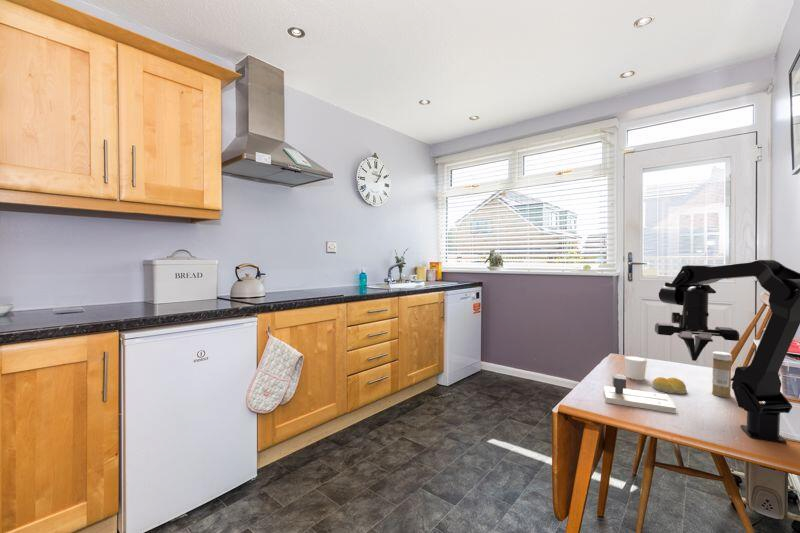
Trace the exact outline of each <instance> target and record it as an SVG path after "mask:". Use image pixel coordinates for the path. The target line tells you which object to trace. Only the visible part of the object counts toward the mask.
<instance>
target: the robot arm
mask: <svg viewBox="0 0 800 533" xmlns="http://www.w3.org/2000/svg"><path fill="white" fill-rule="evenodd" d="M754 277H755V278H756V279H757V281H758V283H759V285H760V286H761V288H763V289H764V290H766V292H767V293H769V295H768V300H767V301H768V304H769V307H770V310H771V315H770V317H769V319H768V322H767V324H766V327H765V330H764V332H763V334H762V336H761V338H760V341H759V344H758V346H757V348H756V351H755V353H754V355H753V358H752V360H751V362H750V364H748V366H737V367H736V368H735V370H734V375H733V376H732V377H731V389H732V390H733V393H734V397H735V399H736V404H737V406H738V407H739V408H741V409H743V411H746V425H745V424H740V428H741V429H742V430H743V431H744V432H745V433H746V434H747V435H748V436H749V437H750V438H753V439H760V440H764V441H770V442H771V441H772V442H777V443H783V444H787V442H788V441H787V440H786V439H785V438H784V436H782V435H781V434H780V431H781V430H780V427H781V426H780V424H781V414H782V413H785V414H790V412H791V410H792V409H793V405H792V404H791V402H789V400H788V399H787V398H786V397H785V395H784V394H783V393H782V392H781V389H782V381H781V378H780V376H779V372H780V370H781V367H782V365H783V363H784V361H785V358H786V356H787V353H788V351H789V349H790V347H791V345H792V342H793V340H794V339H795V337H796V336H795V335H796V334H797V332H798V330H799V327H800V272H798V271H796V270H793V269H791V268H788V267H787V266H785V265H784V264H782V263H781V262H779V261H777V260H775V259H756V260H753V261H748V262H747V261H745V262H736V263H728V264H720V265H719V264H718V265H715V264H714V265H712V264H711V265H710V264H685V265H683V266H681V269H680V271H679V272H678V273H677V275H676V276H675V278H674V279H673V281H668V282H667V281H665V283H664V286H662V287H661V288H660V290H659V292H658V298H659V300H660V301H661V302H662V303H664V304H669V305H677V306H682V312H673V311H672V312H671V323H667V322H656V323H655V325H654V333H656V334H657V335H659V336H660V335H661V336H672V335H674V334H677V337H678V338H679V339H681V340H683V341H684V343H685V345H686V347H687V350H688V353H689V355H690V356H689V357H690V358H691V360H692V361H695V362H696V361H697V360H698V358H699V356H700V355H701V353H702V352H703V349H704V348H705V347H706V346H707V345H708V344H709V343H713V342H714V339H712V337H721V338H723V339H724V340H725V341H734V342H736V341H737V342H740V333H739V331H738V330H737V329H734V328H732V327H725V326H716V327H715V328H714V329H712V328H709V327H708V320H709V316H710V314H709V294H716V293H717V291H716V290H715V289H714V288H712V287H711V286H710V284H713V283H717V282H719V281H722V280H725V279H727V280H728V279H729V280H730V279H741V278H742V279H743V278H754ZM673 324H676V325H677V324H678V326H674V325H673ZM693 335H694V337H692V336H693Z"/></svg>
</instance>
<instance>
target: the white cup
mask: <svg viewBox="0 0 800 533" xmlns="http://www.w3.org/2000/svg"><path fill="white" fill-rule="evenodd" d="M647 362H648V360H647V358H643V357H641V356H636V355H635V356H633V355H625V356H624V367H625V368H624V369H625V377H626V376H627V377H626V378H628V379H630V378H631V379H630V380H634V379H635V380H637V381H643V380H645V378H646V372H647V371H646V368H647Z"/></svg>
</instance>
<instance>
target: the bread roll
mask: <svg viewBox="0 0 800 533" xmlns="http://www.w3.org/2000/svg"><path fill="white" fill-rule="evenodd" d="M652 387H653V389H656V390H658V391H661V392H662V393H663V392H664V393H667V394H679V395H683V394H686V393H687V392H688V390H687V386H686V384H685V383H684V382H683V381H682V380H681V379H678V378H676V377H668V378H666V377H662V376H660V377H659V376H658V377H656V378H654V379H653V380H652Z"/></svg>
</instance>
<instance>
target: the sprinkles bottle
mask: <svg viewBox="0 0 800 533" xmlns="http://www.w3.org/2000/svg"><path fill="white" fill-rule="evenodd" d="M711 356H712V381H711V384H712V388H711V389H712V391H711V394H712V395H714V396H718V397H719V398H720V397H721V398H731V396H732V395H731V387H732V381H731V379H732V377H731V376H732V375H731V374H732V369H731V368H732V360H733V355H732V354H731V353H730V352H727V351H717V350H716V351H712V355H711Z"/></svg>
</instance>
